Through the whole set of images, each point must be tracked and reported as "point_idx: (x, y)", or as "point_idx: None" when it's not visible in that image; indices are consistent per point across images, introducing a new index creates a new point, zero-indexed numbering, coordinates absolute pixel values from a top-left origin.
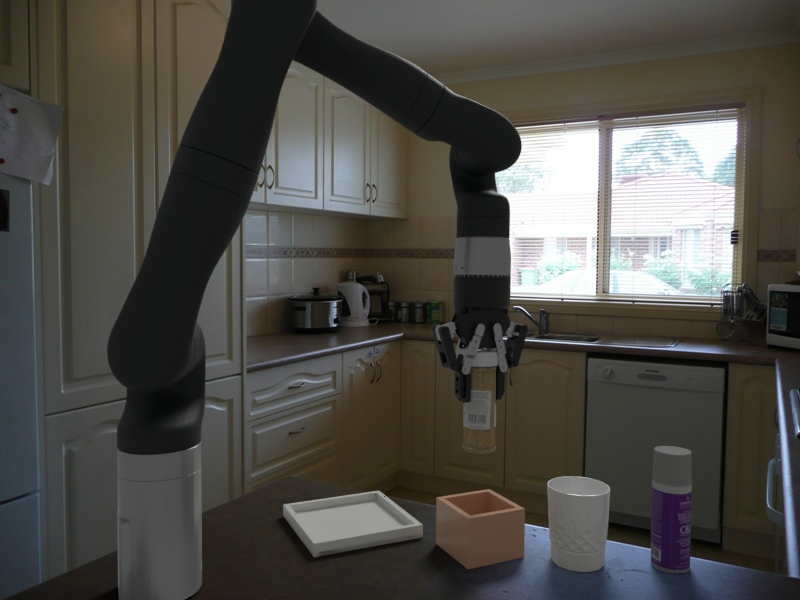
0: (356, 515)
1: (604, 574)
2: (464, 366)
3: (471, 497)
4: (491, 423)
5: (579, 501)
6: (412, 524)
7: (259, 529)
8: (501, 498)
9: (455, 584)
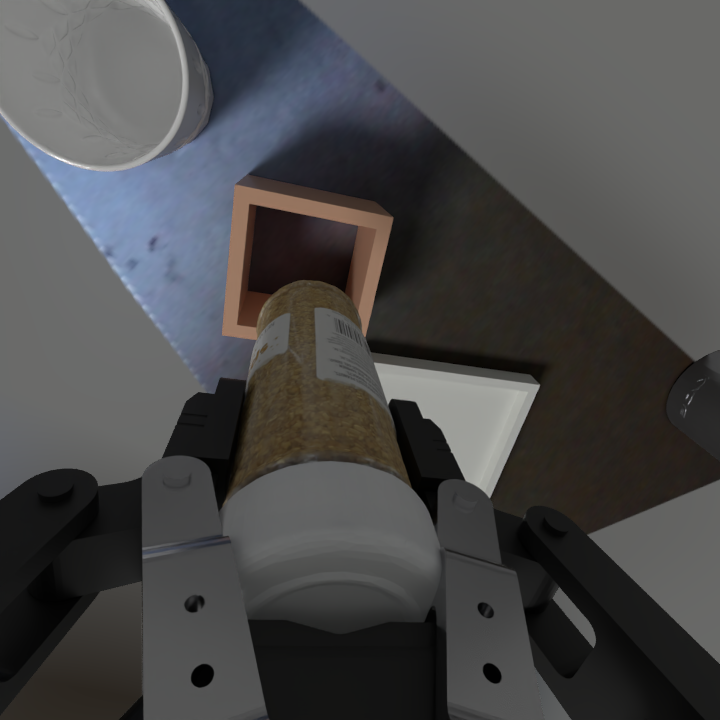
0: None
1: None
2: (484, 515)
3: None
4: (305, 316)
5: None
6: None
7: (523, 485)
8: (238, 271)
9: (432, 169)
